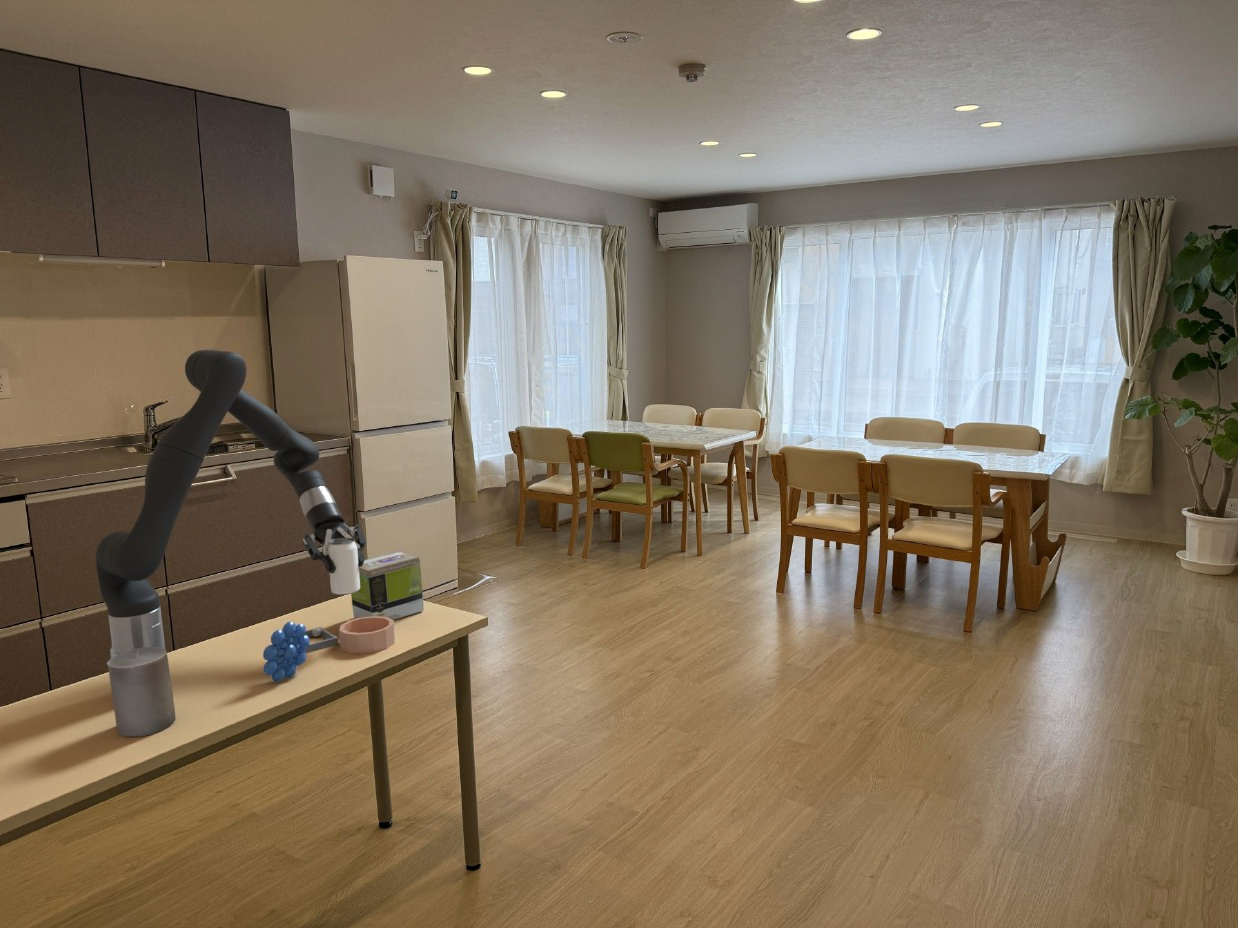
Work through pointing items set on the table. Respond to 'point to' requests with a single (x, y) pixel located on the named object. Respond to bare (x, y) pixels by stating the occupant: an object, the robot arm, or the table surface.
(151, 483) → the robot arm
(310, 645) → the tray
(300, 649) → the blue lumpy cluster
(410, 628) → the table surface
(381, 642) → the bowl
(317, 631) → the pebbles
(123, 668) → the pillar candle
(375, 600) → the tea box
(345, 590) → the can
